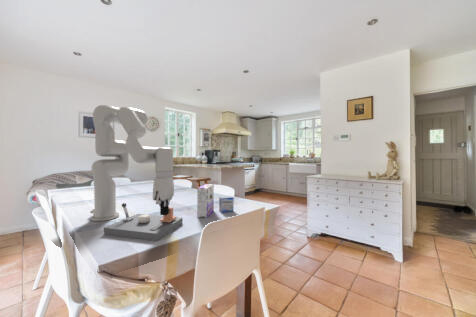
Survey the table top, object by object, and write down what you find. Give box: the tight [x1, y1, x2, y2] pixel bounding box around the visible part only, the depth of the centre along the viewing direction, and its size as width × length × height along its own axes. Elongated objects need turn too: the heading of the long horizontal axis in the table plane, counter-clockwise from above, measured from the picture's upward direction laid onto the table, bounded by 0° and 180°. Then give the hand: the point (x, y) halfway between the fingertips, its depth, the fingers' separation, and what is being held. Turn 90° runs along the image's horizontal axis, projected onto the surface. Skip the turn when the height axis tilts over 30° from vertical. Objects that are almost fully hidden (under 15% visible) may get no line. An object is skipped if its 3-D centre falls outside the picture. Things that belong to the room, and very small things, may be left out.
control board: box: [103, 213, 183, 242], centre depth 90 cm, size 26×20×4 cm
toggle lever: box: [121, 202, 130, 219], centre depth 93 cm, size 2×2×7 cm
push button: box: [138, 214, 151, 223], centre depth 90 cm, size 5×5×2 cm
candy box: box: [197, 183, 215, 219], centre depth 113 cm, size 14×6×16 cm, turn 172°
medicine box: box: [218, 195, 235, 214], centre depth 119 cm, size 8×4×9 cm, turn 114°
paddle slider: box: [160, 206, 177, 222], centre depth 92 cm, size 5×6×6 cm
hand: (164, 214), depth 89 cm, fingers closed
